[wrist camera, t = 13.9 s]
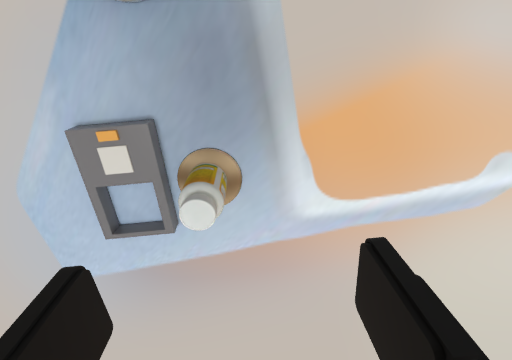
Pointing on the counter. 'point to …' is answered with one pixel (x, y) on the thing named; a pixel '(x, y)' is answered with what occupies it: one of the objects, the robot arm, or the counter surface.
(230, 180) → the cork coaster
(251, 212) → the counter surface
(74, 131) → the gray rectangular fixture
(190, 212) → the supplement bottle
